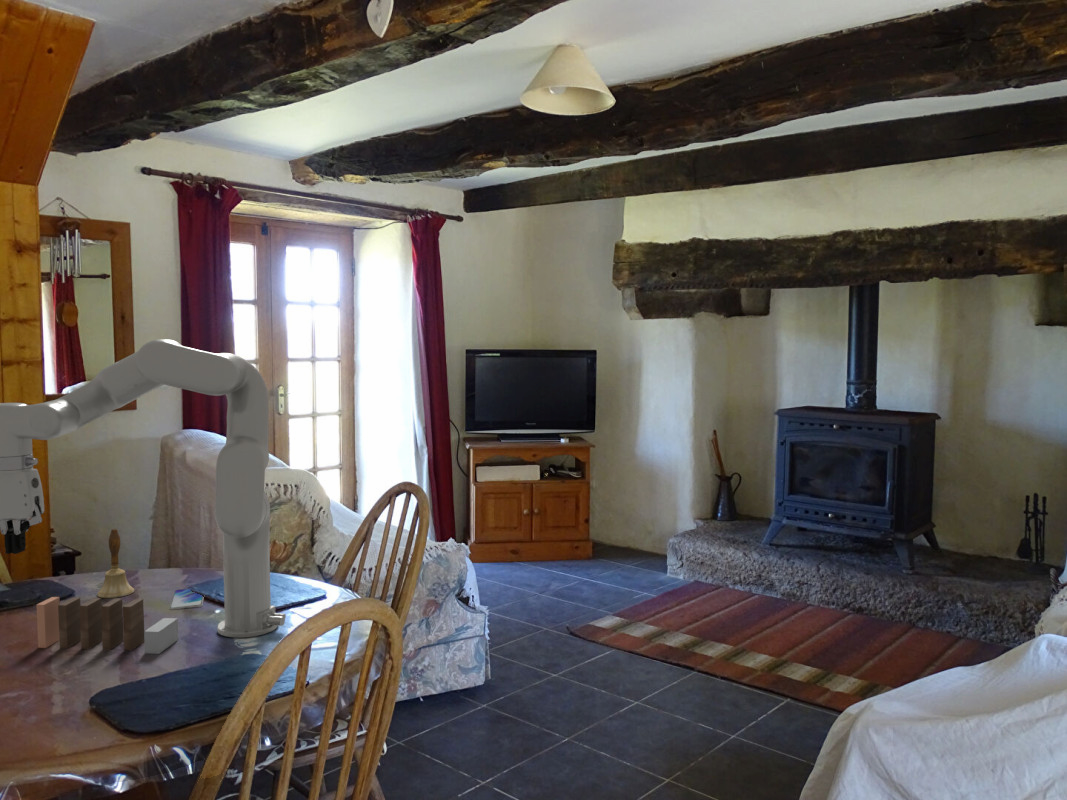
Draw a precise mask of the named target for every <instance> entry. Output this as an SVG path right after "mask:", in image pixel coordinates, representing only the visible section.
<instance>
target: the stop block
mask: <svg viewBox="0 0 1067 800" xmlns="http://www.w3.org/2000/svg"><path fill="white" fill-rule="evenodd" d="M178 640H179V619H178V618H177V617H173V618H172V617H163V618H162V619H160V620H159V621H158V622H155V623H154V624H153V625H151V626H150V627H149V628H147V629H145V630H144V642H143V643H144V654H158V655H159V654H161V653H162V652H164V651H165V650H166V649H168V648H169V647H170V646H171V645H173V644H175V643H176V642H178Z"/></svg>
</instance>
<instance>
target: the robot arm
mask: <svg viewBox="0 0 1067 800" xmlns="http://www.w3.org/2000/svg"><path fill="white" fill-rule="evenodd" d="M164 385H165V386H169V387H172V388H177V389H182V390H187V391H190V392H195V393H198V394H204V395H207V396H214V397H215V396H217V397H218V396H224V395H225V396H226V400H227V411H226V439H225V444H224V445H223V447H222V448H221V449H220V451H219V454H218V455H217V458H216V464H215V485H214V486H215V489H214V490H215V491H214V519H215V523H216V524H217V527H218V529H219V530H220V532H222V533H223V534H222V535H223V536H222V539H223V540H222V541H223V542H222V555H223V557H222V559H223V560H222V561H223V562H222V563H223V564H222V565H223V567H222V568H223V597H224V598H223V599H224V600H223V602H224V603H223V604H224V620H222V621H220V622H219V623H218V624H217V629H216V630H217V633H218V634H219V635H221V636H224V637H227V638H234V639H235V638H238V639H240V638H241V639H243V638H252V637H258V636H262V635H266V634H268V633H271V632H273V631H275V630H276V629H277V628H278V627H279V626H281V627H283V626H284V625H285V623H286V622H285V621H286V614H285V613H281V612H280V613H277V612H276V606H275V605H272V604H271V564H270V563H271V562H270V560H271V559H270V555H271V554H270V553H271V552H270V551H271V550H270V549H271V548H270V547H271V546H270V541H271V540H270V529H271V528H270V527H271V526H270V525H271V524H270V523H271V504H270V500H269V497H268V494H267V493H266V492H265V480H266V479H265V476H266V475H265V474H266V469H267V467H268V464H269V462H270V461H269V460H270V455H269V454H270V450H269V435H270V434H269V432H270V431H269V429H270V424H269V423H270V422H269V421H270V419H269V411H270V410H269V409H270V408H269V406H270V405H269V393H268V388H267V384H266V382H265V380H264V377H263V376H262V374H261V372H260V371H259V370H258V369H257V368H256V367H255V366H254V365H253V364H252V363H251V362H249V361H248V360H246V359H245V358H242V357H241V356H239V355H237V354H234V353H230V352H220V353H214V352H209V351H205V350H200V349H196V348H192V347H188V346H184V345H182V344H181V343H180V342H178V341H176V340H173V339H168V338H167V339H166V338H161V339H154V340H150V341H148V342H146V343H145V344H143V345H142V346H141V347H140V348H139V349H138V350H137V351H135V352H134V353H132V354H130V355H128V356H126V357H124V358H122V359H120V360H118V361H116V362H114V363H112V364H110V365H108V366H106V367H104V368H102V369H101V370H100V371H99V372H97V374H96V375H95V377H94V378H93V379H91V380H90V381H89V382H87V383H86V384H84V385H82V386H80V387H79V388H76V389H74V390H72V391H71V392H69V393H67V394H65V395H63V396H61V397H59V398H57V399H54V400H49V401H45V402H41V403H35V404H27V403H23V402H0V533H1V535H3V536H4V539H3V540H4V549H5V554H6V555H9V554H13V555H17V554H20V553H22V552H25V551H26V546H27V542H26V541H27V540H26V532H28V531H29V529H30V528H31V527H32V526H34V525H37V524H40V523H42V522H43V519H42V516H41V515H43V514H45V513H44V512H45V503H44V501H45V499H44V493H43V492H44V491H43V485H42V481H41V478H40V477H41V476H40V474H39V470H38V469H37V468H34V466H36V465H38V462H39V459H38V458H36V457H35V458H34V454H33V440H41V441H48V440H54V439H56V438H60V437H61V436H64V435H68V434H70V433H73V432H74V431H76V430H79V429H80V428H82V427H84V426H86V425H87V424H90V423H92V422H94V421H95V420H97V419H99V418H101V417H103V416H104V415H106V414H109V413H110V412H113V411H114V410H117V409H120V408H122V407H124V406H126V405H128V404H129V403H132V402H133V401H135V400H137V399H139V398H141V397H143V396H145V395H146V394H149V393H150V392H152V391H155V390H156V389H159V388H161V387H162V386H164Z"/></svg>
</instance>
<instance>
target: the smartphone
mask: <svg viewBox="0 0 1067 800" xmlns="http://www.w3.org/2000/svg"><path fill="white" fill-rule="evenodd" d="M192 588H193V587H190V588H182V589H181V588H180V589H176V590H174V591H173V594H172V599H171V602H170V605H169V607H168V608H169V610H171V611H173V610H174V611H175V610H184V609H195V608H202V607H203V604H204V597H205V596H204V597H203V596H202V595H200V594H197V593H195V592H192V591H191V589H192Z"/></svg>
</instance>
